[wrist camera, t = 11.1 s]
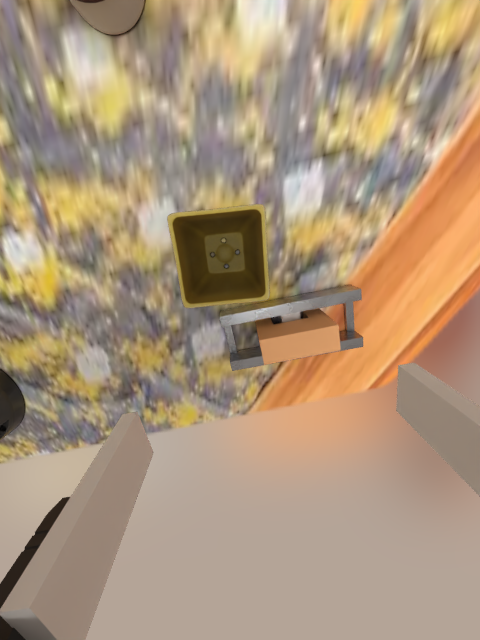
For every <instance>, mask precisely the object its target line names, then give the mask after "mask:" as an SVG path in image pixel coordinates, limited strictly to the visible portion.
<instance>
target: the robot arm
mask: <svg viewBox="0 0 480 640" xmlns="http://www.w3.org/2000/svg"><path fill="white" fill-rule="evenodd" d="M24 411H25V407H24V401H23V397H22V395H21V393H20V391H19V389H18V387H17V386H16V385H15V383H14V382H13V381H12V380H11V379H10V378H9V377H8V376H7V375H6V374H5V373H4V372H3V371H1V370H0V440H1V439H2V438H4V437H5V436H6V435H8V434H9V433H10V432H11V431H12V430H14V429H15V428H16V427H17V426H18V425H19V424H20V422H21V421H22V419H23V416H24ZM396 411H397V412H398V413H399V414H400V415H401V416H402V417H403V418H404V419H405V420H406V421H407V422H408V423H409V424H410V425H411V426H412V427H413V428H414V429H415V430H416V431H417V432H418V433H419V435H420V436H421V437H422V438H423V439H424V440H425V441H426V442H427V443H428V444H429V445H430V446H431V447H432V448H433V449H434V450H435V451H436V452H437V453H438V454H439V455H440V456H441V457H442V458H443V459H444V460H445V461H446V462H447V463H448V464H449V465H450V466H451V467H452V468H453V469H454V471H455V472H457V474H458V475H459V476H460V477H461V478H462V479H463V480H464V481H465V482H466V483H467V484H468V485H469V486H470V487H471V488H472V489H473V490H474V491H475V492H476V493H477V494H478V495H479V496H480V406H479V405H477V404H476V403H474V402H473V401H471V400H469V399H468V398H466V397H465V396H463V395H462V394H460V393H459V392H457V391H456V390H454V389H453V388H451V387H450V386H448V385H447V384H445V383H444V382H442V381H441V380H439V379H438V378H436V377H435V376H433V375H432V374H430V373H429V372H427V371H426V370H424V369H423V368H421V367H420V366H418V365H417V364H415V363H409V364H404V365H398V388H397V409H396ZM152 455H153V450H152V448H151V446H150V443H149V440H148V438H147V435H146V433H145V430H144V428H143V425H142V423H141V420H140V417H139V415H138V412H132V413H127V414H122V416H121V417H120V419H119V420H118V422H117V424H116V425H115V427H114V428H113V430H112V432H111V433H110V435H109V436H108V438H107V440H106V441H105V443H104V444H103V446H102V448H101V449H100V451H99V453H98V454H97V456H96V457H95V459H94V460H93V462H92V464H91V465H90V467H89V468H88V470H87V472H86V473H85V475H84V476H83V478H82V480H81V481H80V483H79V484H78V486H77V488H76V489H75V491H74V492H73V494H72V495H71V497H66V498H62V499H61V501H59V503H58V504H57V505H56V506H55V507H54V508H53V509H52V510H51V511H50V512H49V513H48V514H47V515H46V517H45V518H44V520H43V521H42V523H41V524H40V526H39V527H38V529H37V530H36V532H35V535H34V536H32V538H31V539H30V541H29V542H28V544H27V545H26V546H25V550H24V551H23V552H21V554H20V556H19V557H18V558H17V560H16V561H15V563H14V564H13V566H12V567H11V569H10V570H9V572H8V573H7V575H6V576H5V578H4V579H3V581H2V582H1V584H0V640H85V639H86V636H87V633H88V631H89V628H90V625H91V622H92V620H93V617H94V614H95V611H96V609H97V606H98V603H99V601H100V598H101V595H102V592H103V590H104V587H105V584H106V581H107V579H108V576H109V573H110V570H111V568H112V565H113V562H114V560H115V557H116V554H117V551H118V549H119V546H120V543H121V540H122V537H123V535H124V532H125V529H126V527H127V524H128V521H129V518H130V516H131V513H132V510H133V508H134V505H135V502H136V499H137V497H138V494H139V491H140V488H141V485H142V483H143V480H144V477H145V475H146V472H147V469H148V467H149V464H150V461H151V458H152Z"/></svg>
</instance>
